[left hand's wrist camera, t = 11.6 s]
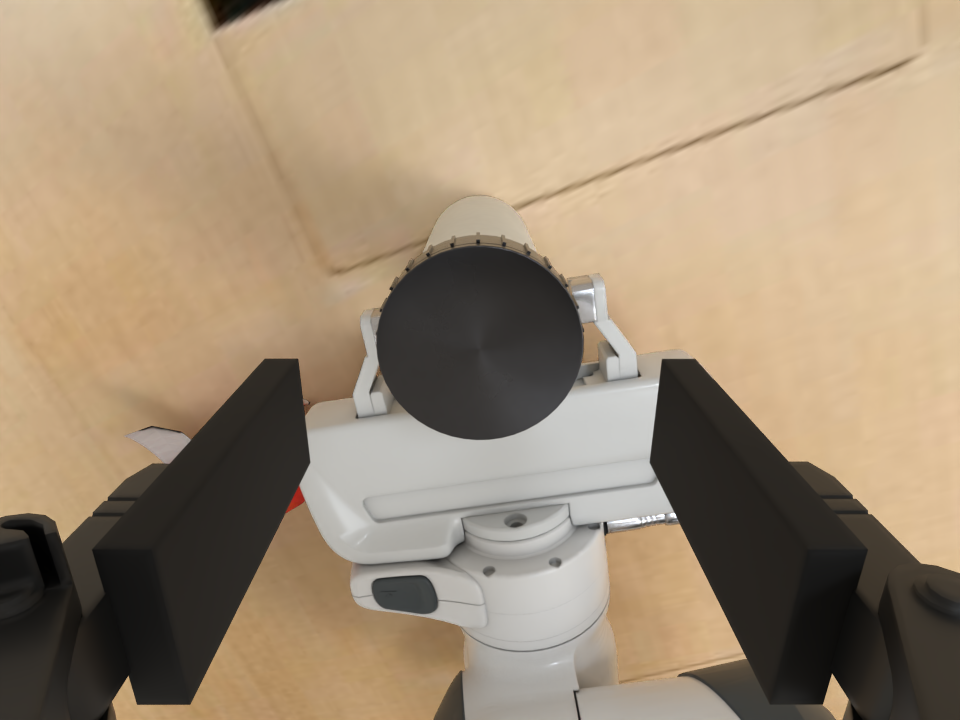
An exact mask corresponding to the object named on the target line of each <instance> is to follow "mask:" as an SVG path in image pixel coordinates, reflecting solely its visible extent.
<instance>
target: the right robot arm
mask: <svg viewBox="0 0 960 720" xmlns="http://www.w3.org/2000/svg"><path fill="white" fill-rule="evenodd" d="M567 284H568V287H567V289H568V291H569V293H570V294H571V295H573V296H574V298H575V300H576V302H577V304H578V305H579V309H577V310H578V312H579V315H580V319H581V323H589V322H594V324H595V325H596V326H597V328H598V329H599V330H600V332H601V333H602V334H603V335H604V337H605V338H606V339H607V341H601V342H599V343H598V344H597V345H598V357H599V361H593V362H587V363H581V367H580V370H579V373H578V376H577V378H576V380H575V383H574V385H573V387H572V389H571V390H570V392H569V393H568V395H567V396H566V398H565V399H564V400H563V402H562V403H561V404H560V405H559V406H558V407H557V409H555V410H554V411H553V412H552V413H551V414H550V415H549V416H548V417H546V418H545V419H544V420H542V421H541V422H539V423H538V424H536V425H535V426H533V427H531V428H529V429H527V430H525V431H522V432H520V433H517V434H515V435H511V436H508V437H504V438H498V439H492V440H469V439H461V438H457V437H452V436H449V435H446V434H443V433H440V432H437V431H435V430H433V429H431V428H429V427H427V426H425V425H424V424H422V423H421V422H419V421H417V420H416V419H415V418H414V417H412V416H411V415H410V414H409V413H408V412H407V411H406V410H405V409H404V408H403V407H402V406H401V405H400V404H399V403H398V402H397V400H396V399H395V398H394V396H393V395H392V394H391V392H390V390H389V388H388V387H387V385H386V383H385V381H384V378H383V376H382V375H379V376H378V377H377V376H376V374H377V371H378V368H379V363H378V358H377V349H376V336H377V335H376V331H377V328H378V322H379V318H380V315H381V312H379V311H380V308H376V309H369V310H364V311H363V313H362V315H361V317H360V327H361V332H362V336H363V340H364V344H365V348H366V352H367V354H366V356H365V359H364V362H363V365H362V368H361V371H360V374H359V377H358V380H357V383H356V386H355V389H354V392H353V397H352V398H345V399H338V400H332V401H325V402H320V403H317V404H315V405H313V406H312V407H311V408H310V410H309V411H308V413H307V414H306V415H305V420H306V429H307V437H308V445H309V454H310V462H311V463H310V465H309V467H308V469H307V471H306V473H305V475H304V477H303V479H302V481H301V483H300V485H299V486H300V489H301V492H302V494H303V497H304V499H305V502H306V504H307V506H308V508H309V511H310V513H311V515H312V517H313V519H314V521H315V524H316V526H317V528H318V530H319V532H320V533H321V535H322V537H323V539H324V540H325V542H326V543H327V544H328V546H329V547H330V548H331V549H332V550H333V551H334V552H335V553H336V554H338V555H339V556H340V557H342V558H344V559H346V560H348V561H351V562H352V568H351V577H350V589H351V593H352V596H353V599H354V600H355V602H356V603H357V604H358V605H359V606H361V607H363V608H366V609H370V610H376V611H385V612H393V613H401V614H408V615H414V616H420V617H426V618H431V619H435V620H440V621H444V622H448V623H451V624H455V625H458V626H459V627H460V629H461V630H462V632H463V634H464V636H465V641H464V651H463V653H464V665H465V671H460V672H459V673H458V674H457V676H456V677H455V679H454V680H453V682H452V683H451V685H450V687H449V688H448V690H447V692H446V694H445V696H444V698H443V700H442V702H441V704H440V706H439V708H438V711H437V713H436V715H435V717H434V720H836V719H835V718H834V716H833V715H832V714H831V713H830V712H829V710H828V709H826V708H825V707H824V706H823V705H770V704H769V702H768V700H767V698H766V696H765V694H764V692H763V690H762V688H761V686H760V684H759V682H758V680H757V678H756V676H755V674H754V672H753V670H752V668H751V666H750V664H749V662H748V660H747V659H743V660H739V661H734V662H730V663H725V664H721V665H716V666H712V667H707V668H703V669H698V670H694V671H689V672H685V673H682V674H679V675H678V676H677V677H673V678H665V679H657V680H648V681H640V682H632V683H623V684H619V678H618V661H617V649H616V642H615V636H614V633H613V630H612V627H611V624H610V622H609V620H608V618H607V616H606V614H607V611H608V606H609V601H610V581H609V571H608V562H607V552H606V543H605V536H606V534H609V533H616V532H624V531H631V530H637V529H641V528H645V527H649V526H654V525H662V524H665V525H676V524H680V523H679V521H678V519H677V517H676V515H675V513H674V511H673V509H672V507H671V505H670V503H669V501H668V499H667V497H666V495H665V493H664V491H663V489H662V487H661V485H660V483H659V481H658V479H657V477H656V475H655V473H654V471H653V469H652V467H651V465H650V463H649V462H650V454H651V445H652V437H653V429H654V420H655V412H656V404H657V395H658V387H659V379H660V370H661V362H662V359H695V358H693V357H692V356H691V355H690V354H688V353H687V352H686V351H684V350H681V349H674V350H667V351H660V352H653V353H647V354H640V355H636V352H635V350H634V349H633V347H632V346H631V344H630V343H629V341H628V340H627V338H626V337H625V336H624V334H623V333H622V332H621V330H620V329H619V328H618V327H617V325H616V324H615V323H614V321H613V320H612V319H611V317H610V316H609V315H608V312H607V301H606V289H605V284H604V280H603V278H602V277H601V276H600V274H599V273H597V274H591V275H584V276H578V277H573V278H567ZM699 364H700V363H699ZM700 365H701V364H700ZM701 366H702V367H703V368H704V369H705V370H706V368H705V367H704V366H703V365H701ZM706 371H707V370H706ZM707 372H708V371H707ZM708 374H709V375H710V376H711V374H710V373H709V372H708ZM711 377H712V376H711ZM712 378H713V377H712Z"/></svg>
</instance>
